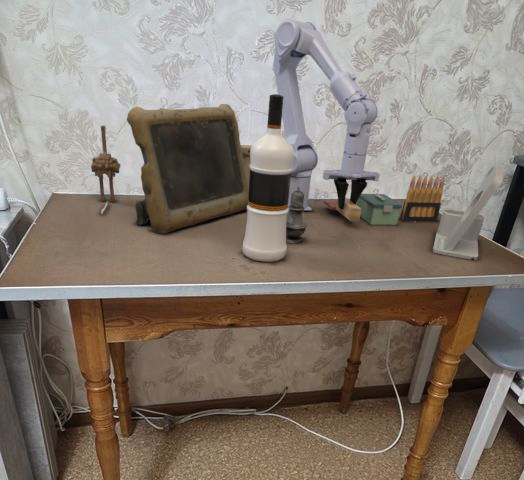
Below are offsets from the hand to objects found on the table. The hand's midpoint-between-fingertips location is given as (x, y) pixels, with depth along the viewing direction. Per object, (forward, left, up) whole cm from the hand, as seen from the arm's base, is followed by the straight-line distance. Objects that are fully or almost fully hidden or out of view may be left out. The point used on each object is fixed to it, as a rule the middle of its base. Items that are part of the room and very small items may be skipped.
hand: (346, 208), depth 127 cm
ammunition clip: (+22, +1, -3) cm, 23 cm away
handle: (-25, +15, -3) cm, 29 cm away
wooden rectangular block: (0, +2, -1) cm, 2 cm away
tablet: (-40, +1, -3) cm, 40 cm away
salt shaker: (-19, -16, -3) cm, 25 cm away
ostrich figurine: (-62, +10, -3) cm, 62 cm away
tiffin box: (+10, +2, -3) cm, 11 cm away
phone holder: (+21, -20, -3) cm, 30 cm away
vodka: (-28, -26, -3) cm, 38 cm away
